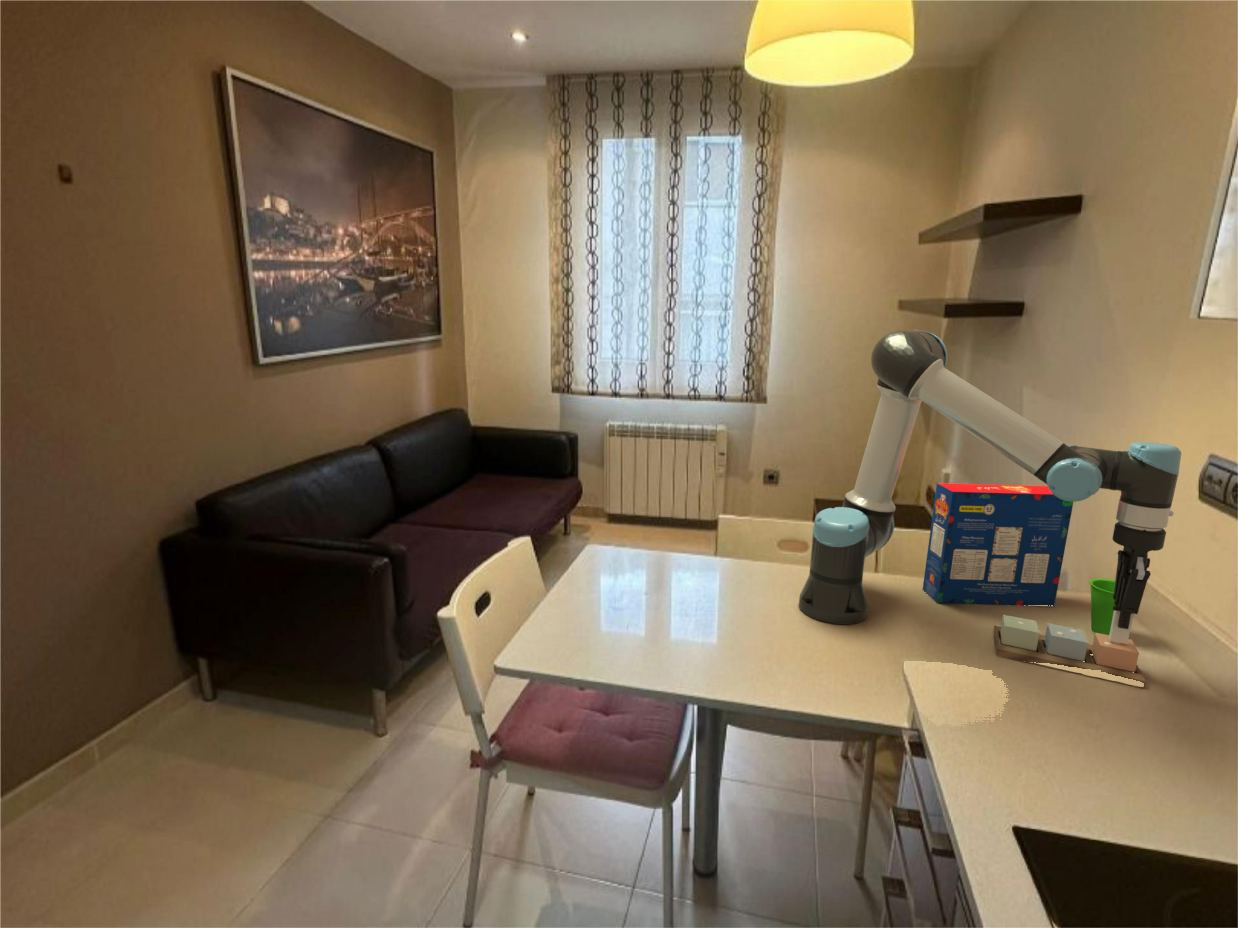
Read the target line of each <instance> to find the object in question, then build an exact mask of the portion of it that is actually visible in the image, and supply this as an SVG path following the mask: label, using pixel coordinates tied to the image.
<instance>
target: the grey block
mask: <svg viewBox="0 0 1238 928" xmlns="http://www.w3.org/2000/svg"><path fill="white" fill-rule="evenodd" d="M1045 630H1046V631H1045V634H1044V635H1045V645H1046V647H1045V649H1046V651H1047V652H1046V653H1047V654H1048V655H1053V656H1058V657H1062V658H1067V659H1072V660H1076V661H1081V662H1083V661H1084V659H1085V654H1086V649H1087V644H1089V642H1088V640H1087V637H1086V634H1085V632H1084V630H1082V629H1078V628H1074V627H1068V626H1063V625H1058V624H1053V623H1048V622H1047V626H1046V629H1045Z"/></svg>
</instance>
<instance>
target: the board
mask: <svg viewBox="0 0 1238 928" xmlns="http://www.w3.org/2000/svg"><path fill="white" fill-rule="evenodd" d="M1000 631H1001V626H1000V625H996V624H994V625H993V640H994V650H995V656H996V657H1000V658H1005V659H1009V660H1013V661H1018V662H1019V661H1020V662H1023V661H1025V662H1024V663H1027V662H1033V663H1034V662H1036V663H1050V664H1057V665H1064V666H1068V667H1077V668H1082V669H1091V670H1101V672H1106V673H1108V674H1112V675H1115V676H1121V677H1124V678H1128V679H1133V680H1136V681H1140V682H1142V683H1144V684H1145V685H1146V679H1145V678H1144V676H1143V673H1142V672H1141V669H1140V668H1139V666H1138V664H1137V665H1136V670H1135V672H1134V673H1132V671H1127V670H1122V669H1118V668H1113V667H1108V666H1104V665H1099V664H1095V662H1094V660H1093V657H1091V655H1090V654H1092V652H1091V649H1092V644H1089V643H1088V644H1087V649H1086V654H1085V659H1084V661H1085V662H1083V661H1080V660H1075V659H1071V658H1066V657H1061V656H1057V655H1052V654H1048V653H1047V652H1046V650H1045V649H1046V645H1045V635H1046V634H1040V633H1039V638H1038V643H1037V649H1036V651H1033V650H1029V649H1024V648H1019V647H1015V646H1010V645H1005V644H1002V643H1000V639H1001V634H1000Z"/></svg>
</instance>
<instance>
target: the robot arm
mask: <svg viewBox="0 0 1238 928" xmlns="http://www.w3.org/2000/svg"><path fill="white" fill-rule="evenodd" d="M870 357H871V358H870V361H871V362H870V364H871V368H872V370H873V372H874V373H873V374H875V376H876V377H877V378H878V379H877V383H876V387H877V388H878V391H880V399H879V401H878V404H877V407H876V411H875V415H874V418H873V422H872V425H871V428H870V433H869V436H868V440H867V443H866V446H865V449H864V453H863V457H862V460H861V464H860V468H859V471H858V474H857V478H856V481H855V485H854V488H853V489H851V490H850V491H848V492H846V493H845V495H844V500H843V502H842V506H836V507H834V508H832V507H828V508H825V509H822V510H820V511H819V512H818V513H816V516H815V518H814V523H813V526H812V541H811V551H810V564H809V565H810V566H809V574H808V577H807V579H806V581H805V584H804V585H803V587H802V589H801V592H800V593H799V597H798V608H799V609H800V610H801V612H802V613H803V614H805V615H807V616H808V617H811V618H813V619H816V621H821V622H825V623H830V624H835V625H836V624H837V625H852V624H858V623H862V622H863V621H864V620H866V619H867V615H868V603H867V597H866V593H865V589H864V585H863V577H864V568H865V561H866V558H868V557H869V556H871V555H872V554H873V553H875V552H876V551H879V550H880V549H881V548H883V547H885V546H886V545H887V543H889V541H890V540H891V538H892V536H893V534H894V532H895V531H894V530H895V520H894V515H895V511H896V505H895V504H894V502H893V500H892V497H893V494H894V493H895V492H894V490H895V488H896V486H897V485H896V484H897V482H898V478H899V475H900V472H901V469H902V465H903V462H904V459H905V456H906V453H907V449H908V446H909V443H910V440H911V437H912V434H913V430H914V427H915V423H916V420H917V418H918V413H919V411H920V407H921V404H922V402H923V403H925V404H926V405H928V407H930V408H932V409H933V410H935V411H936V412H938V413H940V414H941V415H942V416H944V417H946V418H947V419H948V420H950V421H952V422H953V423H954V424H956V425H957V426H959V427H961V428H962V429H964V430H965V431H966V432H968V433H970V434H971V435H973V436H974V437H975V438H977V439H979V440H980V441H982V442H983V443H985V444H987V445H988V446H989V447H990V448H992V449H994V450H995V451H997V452H998V453H1000V454H1001V455H1003V456H1004V457H1005V458H1007V459H1009V460H1010V461H1012V462H1013V463H1015V464H1016V465H1018V466H1020V467H1021V468H1022V469H1024V470H1025V471H1027V472H1029V473H1030V474H1031V475H1033V476H1034V477H1035V478H1037V479H1038V480H1040V481H1041V482H1043V483H1044V484H1046V486H1048V487H1049V489H1050V491H1051V492H1052V493H1053V494H1054V495H1055V496H1056V497H1058V498H1060V499H1062V500H1065V501H1070V502H1073V503H1076V502H1081V501H1084V500H1087V499H1089V498H1090V497H1092V496H1094V495H1095V494H1096V493H1097V492H1098V491H1099V490H1100V489H1101V490H1102V489H1104V490H1110V491H1119V492H1120V497H1119V499H1118V505H1117V510H1116V516H1115V520H1116V521H1117V522H1115V523H1114V529H1113V534H1112V541H1113V542H1114V543H1115V544H1117V545H1120V546H1122V547H1123V549H1121V550H1120V549H1119V550H1118V551H1117V567H1116V574H1115V579H1114V580H1115V588H1114V595H1113V599H1114V600H1115V602H1114V604H1115V606H1113V610H1114V613H1113V618H1112V624H1111V629H1110V634H1109V639H1110V641H1113V642H1119V643H1124V644H1128V639H1129V637H1130V634H1131V629H1132V623H1133V618H1134V615H1138V613H1139V609H1140V606H1141V603H1142V600H1143V596H1144V593H1145V589H1146V586H1147V582H1148V581H1149V579H1150V577H1151V571H1150V570H1148V568H1150V565H1151V564H1150V563H1151V558H1150V557H1149V554H1148V553H1149V552H1151V551H1152V552H1153V551H1154V552H1155V551H1156V552H1158V551H1160V550H1162V549H1163V548H1164V545H1165V540H1166V535H1167V531H1166V530H1165V528H1167V527H1168V524H1169V517H1173V516H1174V511H1173V510H1172V508H1171V507H1172V504H1173V501H1174V495H1175V491H1176V487H1177V482H1178V478H1179V473H1180V466H1181V465H1180V464H1181V458H1182V451H1181V450H1180V449H1179V448H1178V447H1177V446H1175V445H1172V444H1168V443H1167V444H1166V443H1160V442H1154V441H1153V442H1150V441H1149V442H1148V441H1134V442H1132V443H1130V445H1129V447H1128V448H1127V451H1126V450H1123V451H1121V450H1111V449H1104V448H1093V447H1087V446H1079V445H1075V444H1073V445H1072V444H1071V445H1067V444H1066V443H1064V442H1063V441H1061V440H1060V439H1058V438H1057V437H1056V436H1054V435H1052V434H1050V433H1049V432H1047V431H1045V430H1044V429H1043V428H1041V427H1039V426H1037V425H1036V424H1035V423H1033V422H1031V421H1029V420H1028V419H1026V418H1025V417H1024V416H1022V415H1020V414H1019V413H1017V412H1015V411H1014V410H1012V409H1011V408H1009V407H1007V406H1005V405H1004V404H1003V403H1001V402H999V401H998V400H996V399H995V398H993V397H992V396H990V395H989V394H987V393H985V392H984V391H982V390H980V389H978V387H976V386H974V385H972V384H971V383H969V382H967V381H966V380H965V379H963V378H961V376H958V375H956V374H955V373H954V372H952V371H950V370H949V369H947V368H946V366H947V363H948V350H947V347H946V344H945V343H944V342H943V340H942V339H941V338H940V337H939V336H937V335H935V334H934V333H931V332H929V331H927V330H922V329H920V330H919V329H910V330H907V329H905V330H904V329H901V330H899V329H898V330H895V331H891V332H889V333H887V334H885V335H884V336H882V337H881V338H880V339H879V340H878V341H877V342H876V344H875V345H874V347H873V349H872V352H871V356H870ZM1148 557H1149V558H1148ZM1116 606H1117V607H1116Z"/></svg>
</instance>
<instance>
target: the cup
mask: <svg viewBox="0 0 1238 928" xmlns="http://www.w3.org/2000/svg"><path fill="white" fill-rule="evenodd" d="M1115 580H1116V579H1109V578H1093V579H1090V580H1089V582H1088V584H1090V616H1091V617H1090V619H1091V620H1090V621H1091V623H1090V627H1091V631H1092V632H1093V634H1095V633H1100V634H1105V635H1109V634H1110V629H1111V624H1112V618H1113V613H1114V610H1113V606H1115V604H1114V602H1115V600H1114V599H1113V595H1114V588H1115ZM1116 607H1117V606H1116Z"/></svg>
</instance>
